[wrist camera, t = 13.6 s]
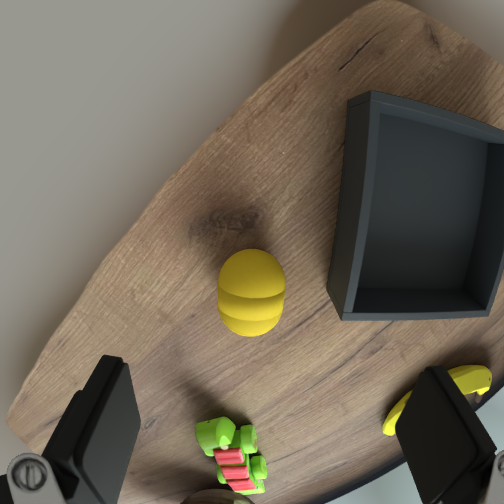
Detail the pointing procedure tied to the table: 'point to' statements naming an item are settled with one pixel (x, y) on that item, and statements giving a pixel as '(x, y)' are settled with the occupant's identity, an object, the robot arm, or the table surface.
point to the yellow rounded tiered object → (251, 292)
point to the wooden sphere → (217, 497)
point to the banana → (465, 379)
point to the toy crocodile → (233, 454)
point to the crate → (417, 213)
